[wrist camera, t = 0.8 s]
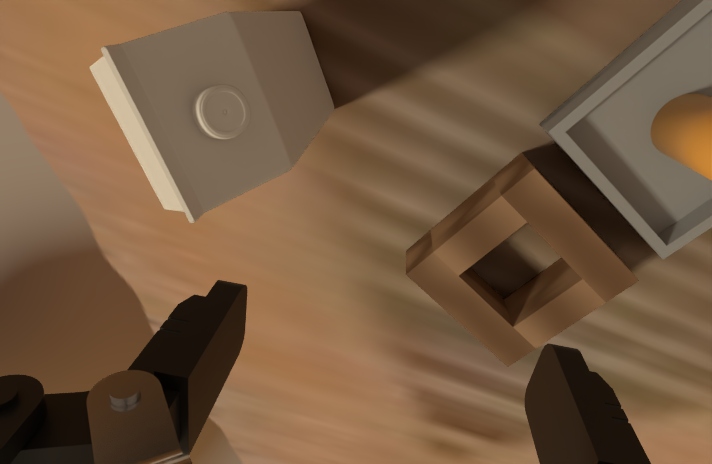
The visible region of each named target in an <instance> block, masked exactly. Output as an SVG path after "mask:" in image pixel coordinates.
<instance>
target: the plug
mask: <svg viewBox="0 0 712 464" xmlns="http://www.w3.org/2000/svg"><path fill="white" fill-rule="evenodd" d="M651 139H652V142H653V144H654V146H655V147H656V148H657V149H658V150H659V151H660V152H661V153H663V154H665V155H667V156H668V157H670V158H672V159H674V160H676V161H677V162H679V163H681V164H683V165H684V166H686V167H688V168H690V169H692V170H693V171H695V172H697V173H699V174H701V175H702V176H704V177H706V178H708V179H709V180H711V181H712V97H710V96H706V95H703V94H698V93H690V94H684V95H681V96H678V97H676V98H674V99H672V100H670V101H669V102H668V103H666V104H665V105H664V106H663V107H662V108H661V109H660V110H659V111H658V113H657V114H656V116H655V118H654V120H653V122H652V125H651Z"/></svg>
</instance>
